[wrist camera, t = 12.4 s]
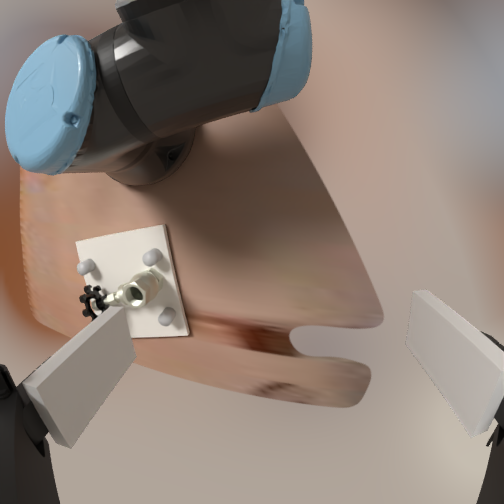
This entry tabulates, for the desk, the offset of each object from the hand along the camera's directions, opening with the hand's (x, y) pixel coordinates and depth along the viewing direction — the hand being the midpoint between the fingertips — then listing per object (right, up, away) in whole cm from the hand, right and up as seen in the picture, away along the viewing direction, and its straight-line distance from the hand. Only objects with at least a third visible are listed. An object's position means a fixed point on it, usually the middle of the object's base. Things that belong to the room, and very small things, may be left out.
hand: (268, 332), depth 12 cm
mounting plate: (-20, -2, +30) cm, 36 cm away
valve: (-19, -2, +30) cm, 35 cm away
